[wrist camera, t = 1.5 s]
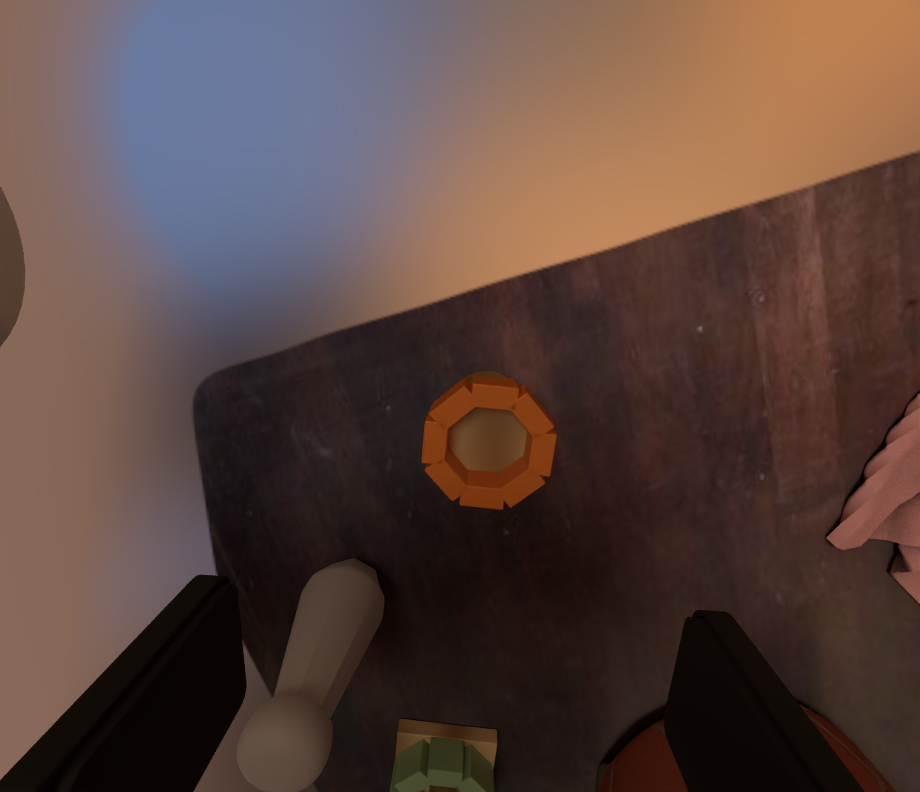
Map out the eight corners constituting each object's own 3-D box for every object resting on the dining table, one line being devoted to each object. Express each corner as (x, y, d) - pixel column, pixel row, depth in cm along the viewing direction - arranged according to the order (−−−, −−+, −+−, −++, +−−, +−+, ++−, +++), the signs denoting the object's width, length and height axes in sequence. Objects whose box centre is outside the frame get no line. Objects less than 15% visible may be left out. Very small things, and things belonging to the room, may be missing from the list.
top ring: (422, 484, 25) (418, 501, 23) (432, 370, 23) (428, 378, 21) (538, 496, 25) (544, 514, 23) (557, 383, 23) (564, 392, 21)
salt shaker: (301, 558, 32) (189, 737, 20) (374, 538, 31) (305, 710, 19) (331, 621, 33) (244, 827, 21) (401, 604, 33) (354, 805, 20)
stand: (442, 442, 29) (436, 474, 24) (449, 366, 28) (444, 384, 23) (519, 450, 29) (528, 483, 24) (530, 374, 28) (541, 394, 23)
